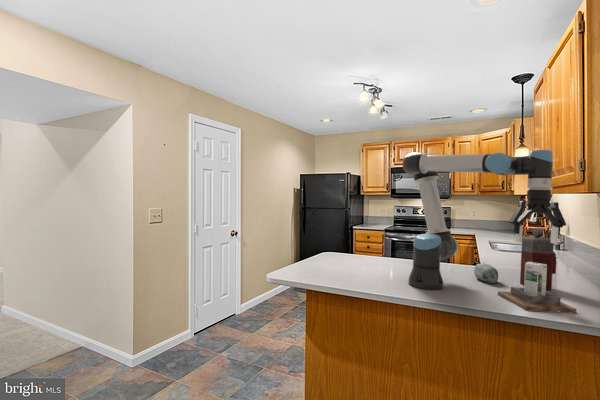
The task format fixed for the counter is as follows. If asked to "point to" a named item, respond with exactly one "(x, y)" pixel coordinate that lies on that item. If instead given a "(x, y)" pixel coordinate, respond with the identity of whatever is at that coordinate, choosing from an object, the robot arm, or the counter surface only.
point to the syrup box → (535, 278)
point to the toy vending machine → (538, 255)
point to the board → (536, 301)
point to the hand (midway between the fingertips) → (536, 242)
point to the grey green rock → (486, 273)
